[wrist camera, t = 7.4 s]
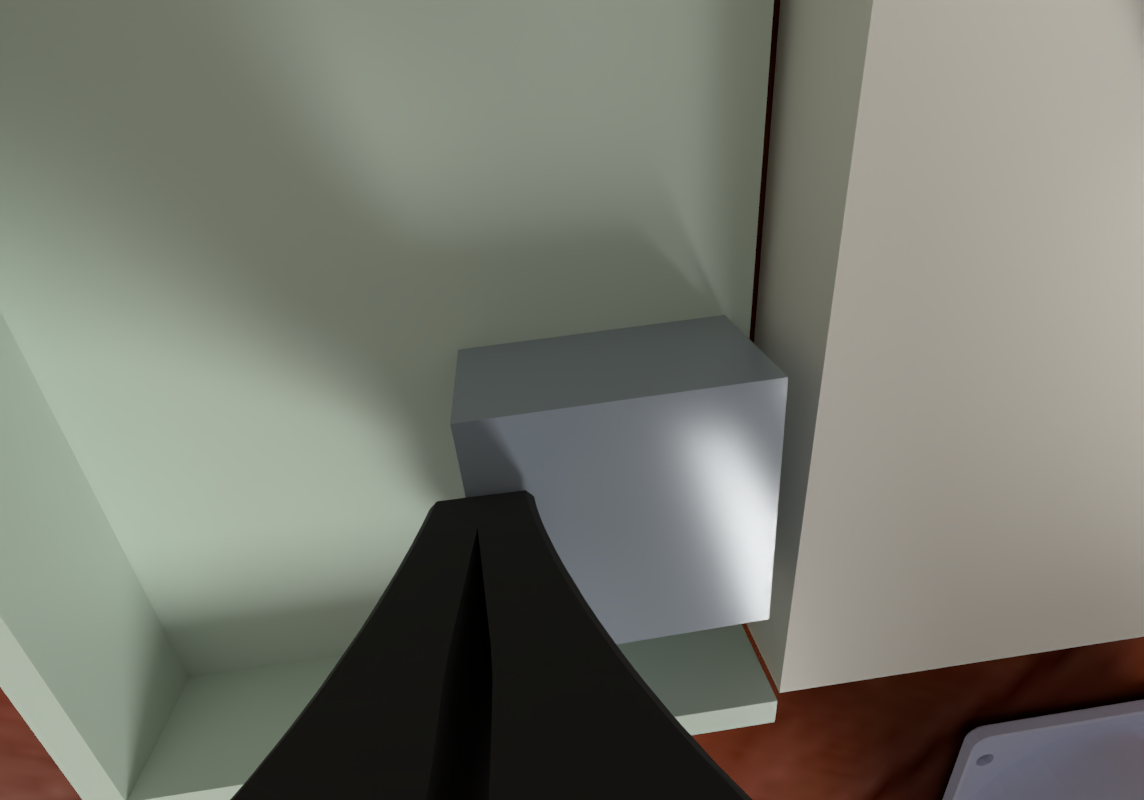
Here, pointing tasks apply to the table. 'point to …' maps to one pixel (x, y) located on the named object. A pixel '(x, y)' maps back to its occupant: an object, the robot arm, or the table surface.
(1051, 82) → the board
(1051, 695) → the table surface
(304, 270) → the box
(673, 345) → the squat square grey block
